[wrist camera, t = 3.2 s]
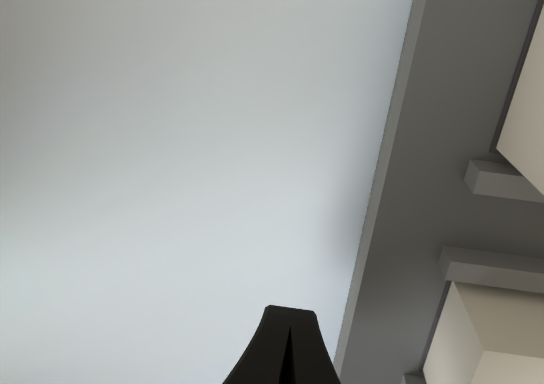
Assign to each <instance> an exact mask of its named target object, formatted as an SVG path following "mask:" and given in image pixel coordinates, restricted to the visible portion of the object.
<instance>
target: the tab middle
mask: <svg viewBox="0 0 544 384" xmlns="http://www.w3.org/2000/svg"><path fill="white" fill-rule="evenodd" d="M423 372H424V376H425V379H426V383H427V384H544V294H543V293H536V292H529V291H521V290H514V289H507V288H500V287H492V286H485V285H478V284H471V283H463V282H456V281H452V283H451V286H450V289H449V292H448V295H447V298H446V301H445V304H444V307H443V310H442V313H441V316H440V319H439V322H438V325H437V328H436V331H435V334H434V337H433V340H432V343H431V346H430V349H429V352H428V355H427V358H426V361H425V364H424V367H423Z"/></svg>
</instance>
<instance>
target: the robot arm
mask: <svg viewBox="0 0 544 384" xmlns="http://www.w3.org/2000/svg"><path fill="white" fill-rule="evenodd" d="M222 384H341V382H340V380H339V378H338V376H337V373H336V371H335V369H334V366H333V364H332V362H331V359H330V357H329V354H328V352H327V349H326V347H325V344H324V341H323V338H322V335H321V332H320V329H319V325H318V321H317V316H316V314H315V313H314V312H313V311H310V310H303V309H296V308H289V307H281V306H274V305H269V306H267V307H265V310H264V314H263V317H262V319H261V322H260V324H259V326H258V328H257V330H256V332H255V334H254V336H253V338H252V340H251V341H250V343H249V345H248V346H247V348H246V350H245V351H244V353H243V355H242V356H241V358H240V359H239V361H238V362H237V364H236V365H235V367H234V368H233V369H232V371H231V372H230V374H229V375H228V377H227V378H226V379H225V381H224V382H223V383H222Z"/></svg>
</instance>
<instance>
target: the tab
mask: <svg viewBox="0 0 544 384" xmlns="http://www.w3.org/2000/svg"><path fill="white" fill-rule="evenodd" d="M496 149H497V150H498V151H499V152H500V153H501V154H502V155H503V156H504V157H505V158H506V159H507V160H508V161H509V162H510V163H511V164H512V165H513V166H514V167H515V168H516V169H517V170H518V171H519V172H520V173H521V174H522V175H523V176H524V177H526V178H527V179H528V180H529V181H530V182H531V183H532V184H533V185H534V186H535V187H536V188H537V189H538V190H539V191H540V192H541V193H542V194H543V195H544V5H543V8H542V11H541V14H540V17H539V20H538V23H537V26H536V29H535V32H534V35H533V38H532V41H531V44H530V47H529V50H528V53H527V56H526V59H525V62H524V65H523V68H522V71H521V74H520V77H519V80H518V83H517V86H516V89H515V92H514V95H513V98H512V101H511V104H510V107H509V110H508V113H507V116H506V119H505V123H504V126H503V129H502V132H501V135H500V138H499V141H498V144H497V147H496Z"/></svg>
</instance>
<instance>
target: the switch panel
mask: <svg viewBox="0 0 544 384" xmlns="http://www.w3.org/2000/svg"><path fill="white" fill-rule="evenodd" d="M543 5H544V0H413V2H412V7H411V11H410V16H409V21H408V25H407V30H406V34H405V39H404V43H403V48H402V53H401V57H400V62H399V66H398V71H397V75H396V80H395V85H394V89H393V94H392V98H391V103H390V107H389V112H388V117H387V121H386V126H385V130H384V135H383V139H382V144H381V149H380V153H379V158H378V162H377V167H376V171H375V176H374V180H373V185H372V190H371V194H370V199H369V203H368V208H367V212H366V217H365V222H364V226H363V231H362V235H361V240H360V244H359V249H358V254H357V258H356V263H355V267H354V272H353V276H352V281H351V286H350V290H349V295H348V299H347V304H346V308H345V313H344V318H343V322H342V327H341V331H340V336H339V340H338V345H337V350H336V354H335V359H334V363H333V366H334V369H335V371H336V373H337V376H338V378H339V380H340V382H341V384H427V383H426V379H425V376H424V372H423V367H424V364H425V361H426V358H427V355H428V352H429V349H430V346H431V343H432V340H433V337H434V334H435V331H436V328H437V325H438V322H439V319H440V316H441V313H442V310H443V307H444V304H445V301H446V298H447V295H448V292H449V289H450V286H451V283H452V281H456V282H463V283H471V284H478V285H485V286H492V287H500V288H507V289H514V290H521V291H529V292H536V293H543V294H544V195H543V194H542V193H541V192H540V191H539V190H538V189H537V188H536V187H535V186H534V185H533V184H532V183H531V182H530V181H529V180H528V179H527V178H526V177H524V176H523V175H522V174H521V173H520V172H519V171H518V170H517V169H516V168H515V167H514V166H513V165H512V164H511V163H510V162H509V161H508V160H507V159H506V158H505V157H504V156H503V155H502V154H501V153H500V152H499V151H498V150H497V149H496V147H497V144H498V141H499V138H500V135H501V132H502V129H503V126H504V123H505V119H506V116H507V113H508V110H509V107H510V104H511V101H512V98H513V95H514V92H515V89H516V86H517V83H518V80H519V77H520V74H521V71H522V68H523V65H524V62H525V59H526V56H527V53H528V50H529V47H530V44H531V41H532V38H533V35H534V32H535V29H536V26H537V23H538V20H539V17H540V14H541V11H542V8H543Z"/></svg>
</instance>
